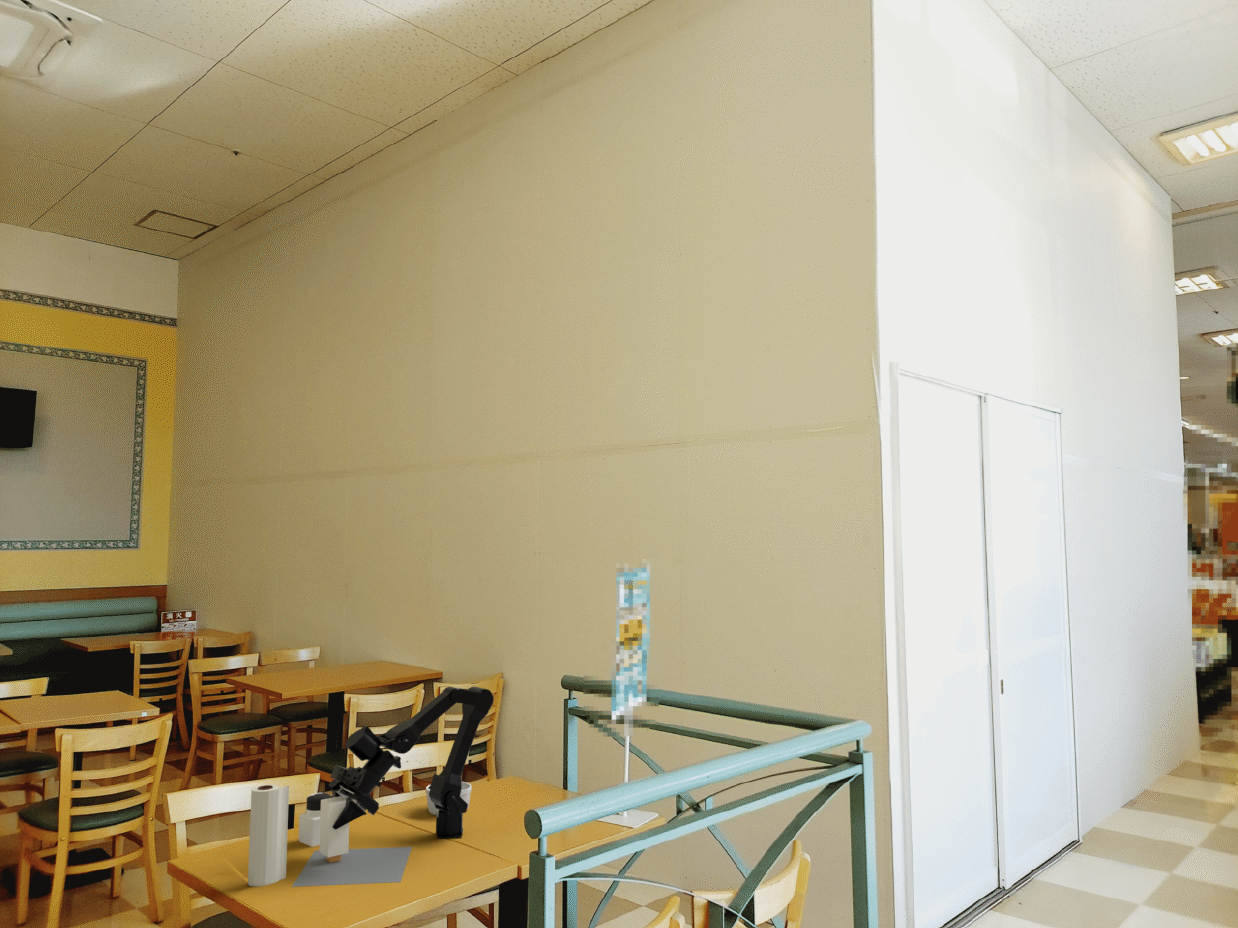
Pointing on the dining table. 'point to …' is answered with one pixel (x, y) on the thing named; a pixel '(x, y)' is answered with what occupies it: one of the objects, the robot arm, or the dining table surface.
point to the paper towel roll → (268, 834)
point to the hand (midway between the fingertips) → (329, 825)
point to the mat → (355, 867)
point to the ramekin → (464, 795)
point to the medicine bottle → (311, 820)
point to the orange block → (334, 858)
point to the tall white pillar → (329, 837)
